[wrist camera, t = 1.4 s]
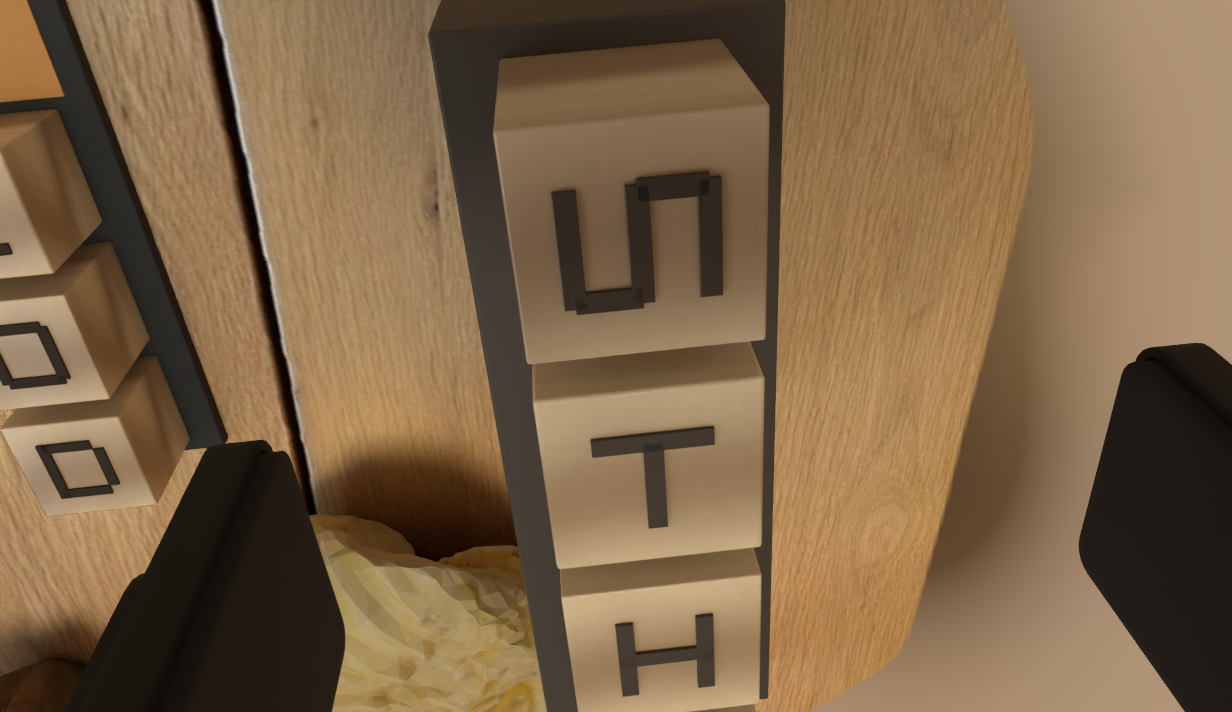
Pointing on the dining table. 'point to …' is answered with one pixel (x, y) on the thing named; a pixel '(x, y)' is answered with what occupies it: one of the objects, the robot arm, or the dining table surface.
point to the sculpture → (40, 686)
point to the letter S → (634, 198)
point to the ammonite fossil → (428, 624)
